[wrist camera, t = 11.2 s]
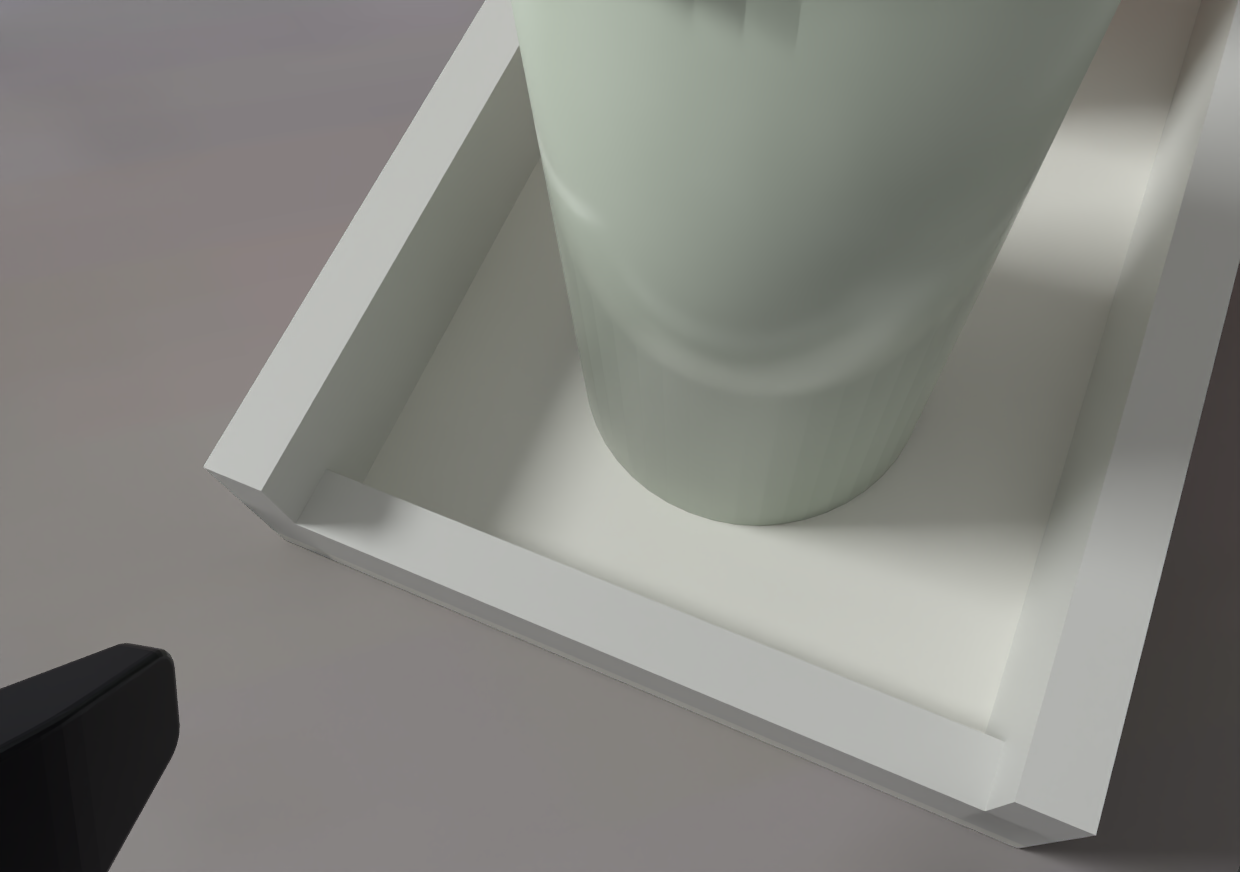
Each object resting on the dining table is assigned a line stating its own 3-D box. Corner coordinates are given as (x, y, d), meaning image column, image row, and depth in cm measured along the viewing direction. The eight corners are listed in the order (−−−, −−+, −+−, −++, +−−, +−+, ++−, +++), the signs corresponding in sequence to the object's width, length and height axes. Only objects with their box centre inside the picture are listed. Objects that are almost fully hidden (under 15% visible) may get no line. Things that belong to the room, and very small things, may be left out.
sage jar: (760, 615, 18) (917, 15, 6) (500, 367, 20) (216, -457, 8) (1011, 363, 19) (1550, -527, 7) (746, 157, 21) (823, -802, 9)
